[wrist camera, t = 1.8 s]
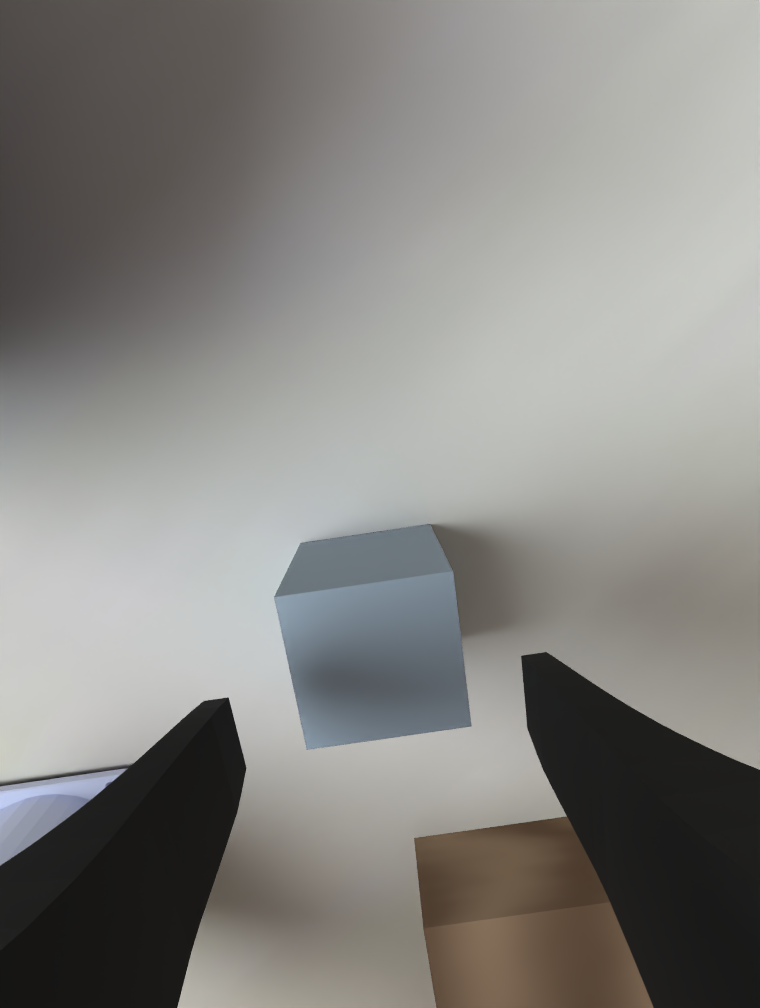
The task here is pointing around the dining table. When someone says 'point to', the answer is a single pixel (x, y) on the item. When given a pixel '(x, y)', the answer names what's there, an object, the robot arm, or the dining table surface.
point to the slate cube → (373, 637)
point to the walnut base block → (522, 921)
